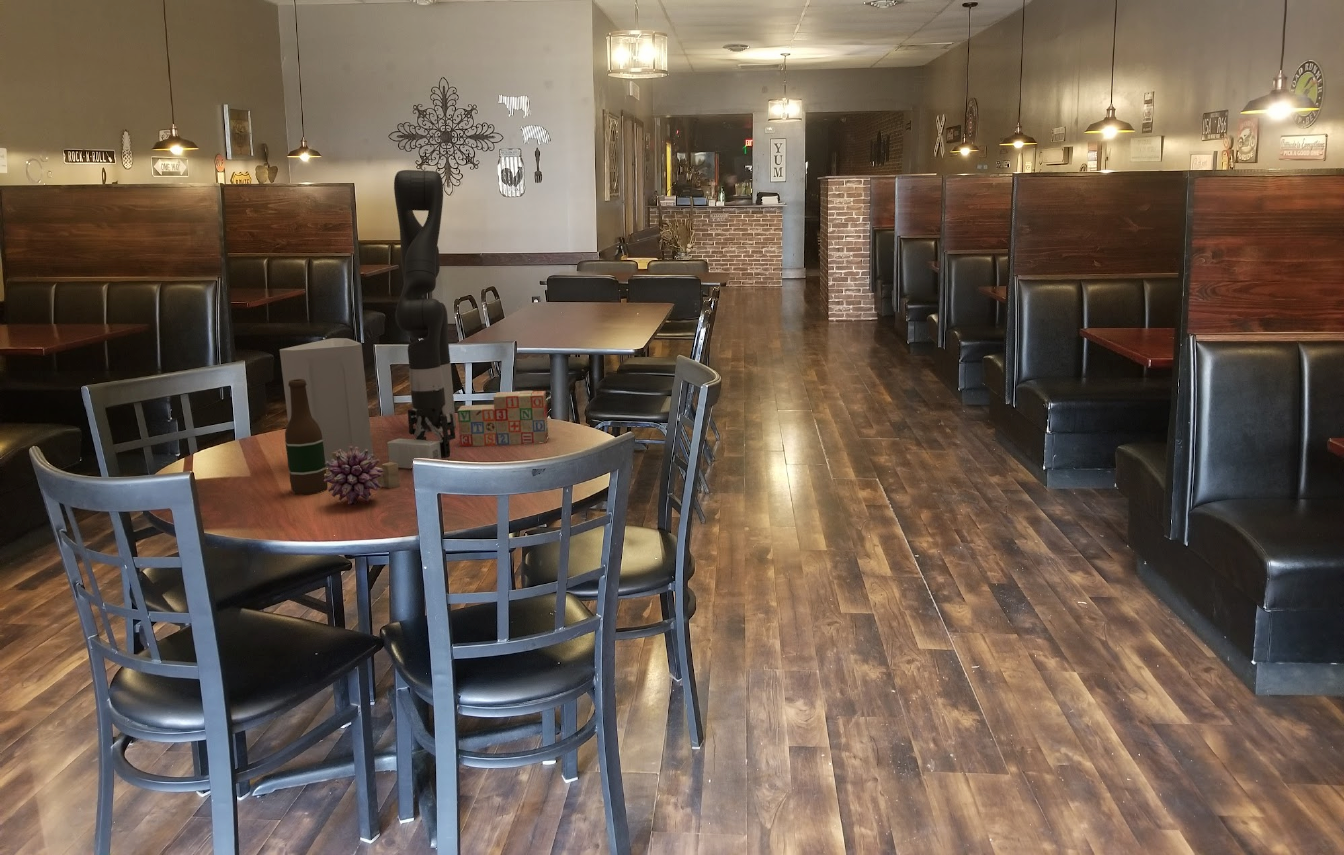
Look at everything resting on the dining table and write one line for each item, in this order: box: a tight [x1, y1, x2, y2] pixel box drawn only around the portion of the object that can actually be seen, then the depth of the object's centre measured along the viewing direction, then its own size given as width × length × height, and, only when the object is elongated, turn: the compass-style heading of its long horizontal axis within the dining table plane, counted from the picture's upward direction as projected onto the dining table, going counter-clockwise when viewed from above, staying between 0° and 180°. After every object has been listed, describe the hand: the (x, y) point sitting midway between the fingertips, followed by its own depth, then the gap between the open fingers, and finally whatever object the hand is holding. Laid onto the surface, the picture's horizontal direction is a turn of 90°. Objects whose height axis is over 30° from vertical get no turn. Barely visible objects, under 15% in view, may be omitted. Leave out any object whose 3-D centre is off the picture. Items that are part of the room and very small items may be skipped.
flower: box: [324, 447, 384, 505], centre depth 223 cm, size 12×12×12 cm
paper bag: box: [279, 337, 374, 468], centre depth 258 cm, size 19×15×28 cm
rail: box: [332, 451, 401, 489], centre depth 242 cm, size 22×2×5 cm, turn 48°
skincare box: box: [386, 438, 443, 470], centre depth 252 cm, size 6×4×12 cm
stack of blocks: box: [457, 390, 549, 447], centre depth 273 cm, size 21×6×12 cm, turn 90°
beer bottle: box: [284, 379, 329, 495], centre depth 233 cm, size 8×8×24 cm
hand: (434, 455), depth 255 cm, fingers open, 8 cm apart
